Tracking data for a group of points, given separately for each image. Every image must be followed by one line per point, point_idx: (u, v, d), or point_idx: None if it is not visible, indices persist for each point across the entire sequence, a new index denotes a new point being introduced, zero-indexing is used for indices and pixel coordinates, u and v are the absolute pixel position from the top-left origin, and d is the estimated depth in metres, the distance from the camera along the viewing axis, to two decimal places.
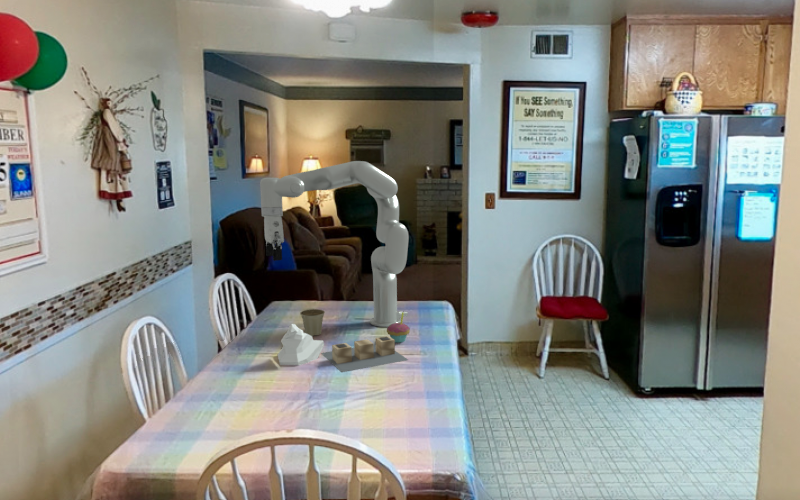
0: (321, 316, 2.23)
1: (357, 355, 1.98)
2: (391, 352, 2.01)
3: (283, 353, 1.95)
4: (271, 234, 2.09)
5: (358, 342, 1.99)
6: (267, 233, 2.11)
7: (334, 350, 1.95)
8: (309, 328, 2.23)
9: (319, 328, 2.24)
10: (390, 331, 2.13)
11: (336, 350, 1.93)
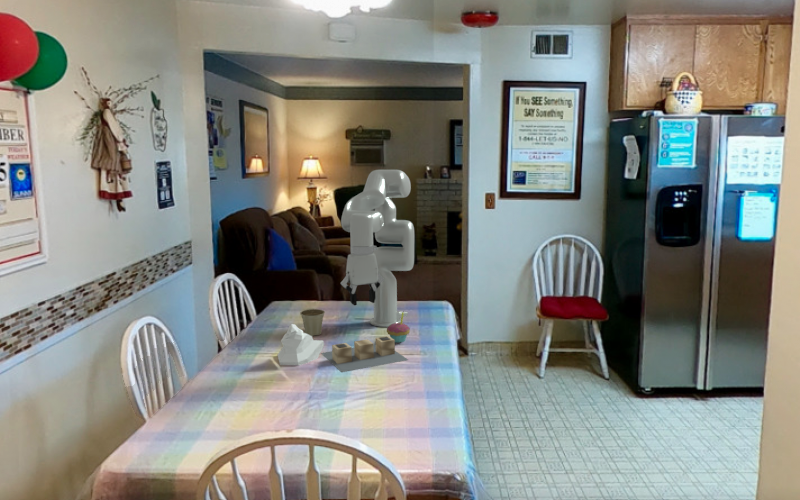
0: (321, 316, 2.23)
1: (357, 355, 1.98)
2: (391, 352, 2.01)
3: (283, 353, 1.95)
4: (377, 272, 1.95)
5: (358, 342, 1.99)
6: (369, 273, 1.93)
7: (334, 350, 1.95)
8: (309, 328, 2.23)
9: (319, 328, 2.24)
10: (390, 331, 2.13)
11: (336, 350, 1.93)
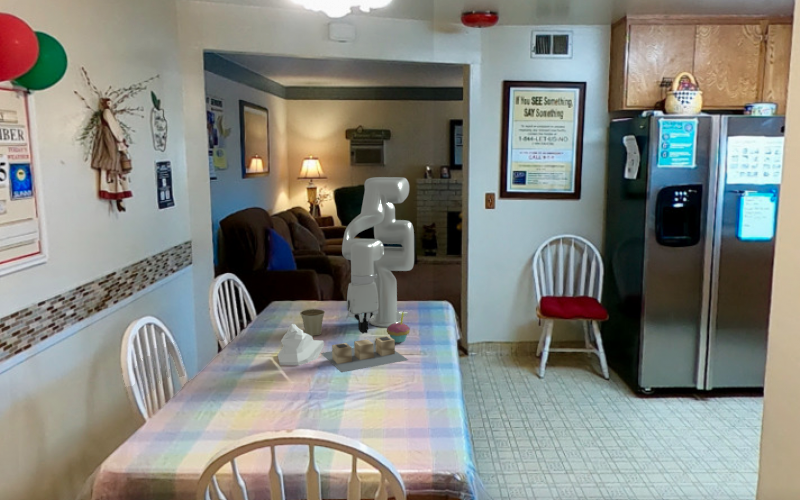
0: (321, 316, 2.23)
1: (357, 355, 1.98)
2: (391, 352, 2.01)
3: (283, 353, 1.95)
4: (377, 300, 1.97)
5: (358, 342, 1.99)
6: (370, 302, 1.95)
7: (334, 350, 1.95)
8: (309, 328, 2.23)
9: (319, 328, 2.24)
10: (390, 331, 2.13)
11: (336, 350, 1.93)
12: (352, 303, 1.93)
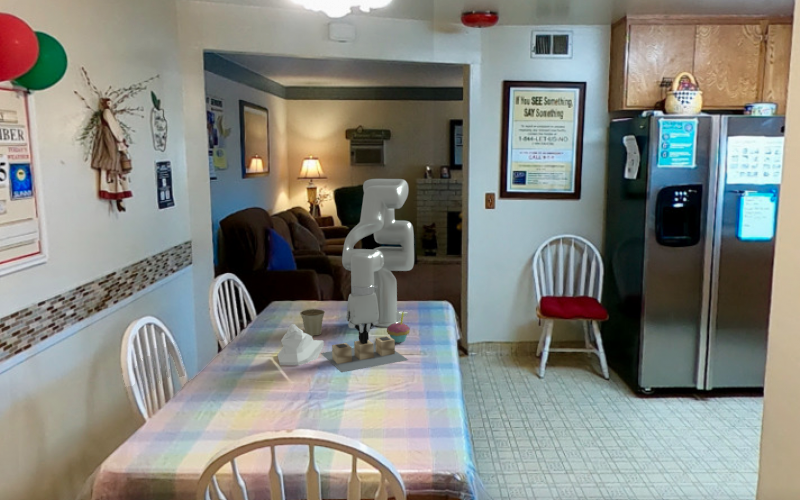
0: (321, 316, 2.23)
1: (357, 355, 1.98)
2: (391, 352, 2.01)
3: (283, 353, 1.95)
4: (378, 311, 1.97)
5: (358, 342, 1.99)
6: (370, 312, 1.95)
7: (334, 350, 1.95)
8: (309, 328, 2.23)
9: (319, 328, 2.24)
10: (390, 331, 2.13)
11: (336, 350, 1.93)
12: (352, 314, 1.93)
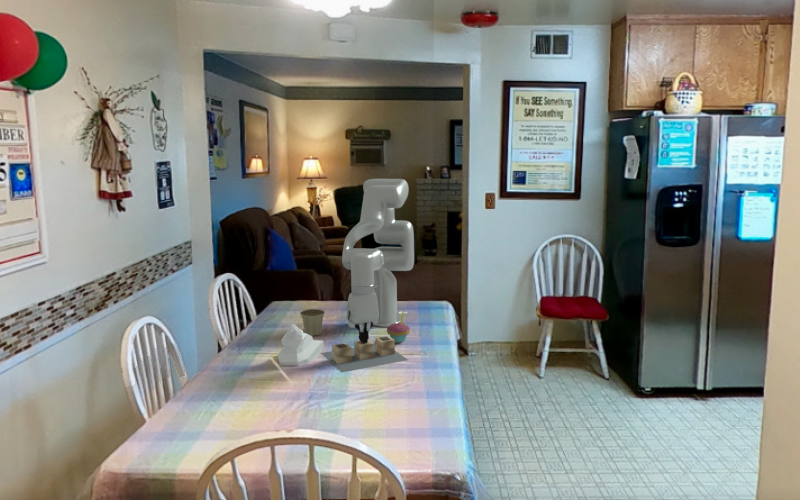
0: (321, 316, 2.23)
1: (357, 355, 1.98)
2: (391, 352, 2.01)
3: (283, 353, 1.95)
4: (378, 310, 1.98)
5: (358, 342, 1.99)
6: (370, 312, 1.96)
7: (334, 350, 1.95)
8: (309, 328, 2.23)
9: (319, 328, 2.24)
10: (390, 331, 2.13)
11: (336, 350, 1.93)
12: (352, 313, 1.93)
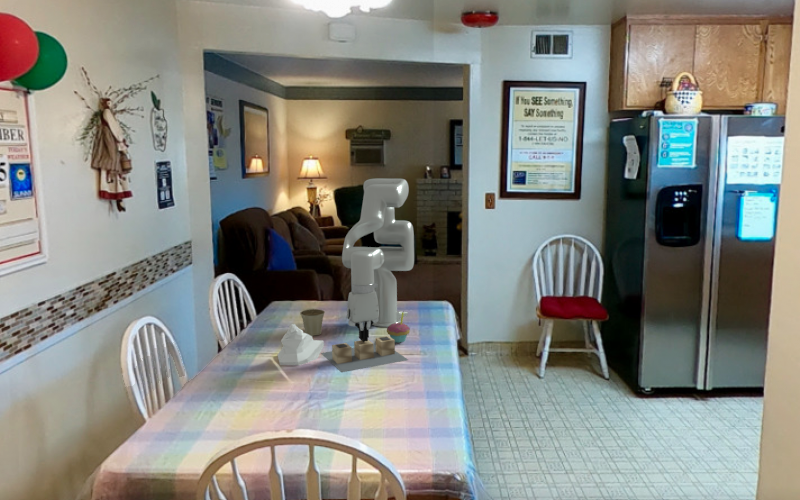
0: (321, 316, 2.23)
1: (357, 355, 1.98)
2: (391, 352, 2.01)
3: (283, 353, 1.95)
4: (378, 309, 1.98)
5: (358, 342, 1.99)
6: (370, 310, 1.96)
7: (334, 350, 1.95)
8: (309, 328, 2.23)
9: (319, 328, 2.24)
10: (390, 331, 2.13)
11: (336, 350, 1.93)
12: (352, 312, 1.93)
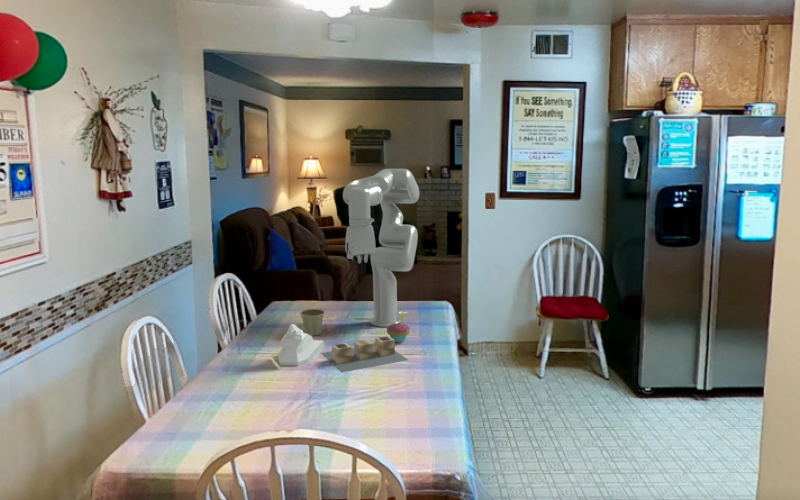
0: (321, 316, 2.23)
1: (357, 355, 1.98)
2: (391, 352, 2.01)
3: (283, 353, 1.95)
4: (374, 243, 2.08)
5: (358, 342, 1.99)
6: (367, 244, 2.06)
7: (334, 350, 1.95)
8: (309, 328, 2.23)
9: (319, 328, 2.24)
10: (390, 331, 2.13)
11: (336, 350, 1.93)
12: (351, 245, 2.04)
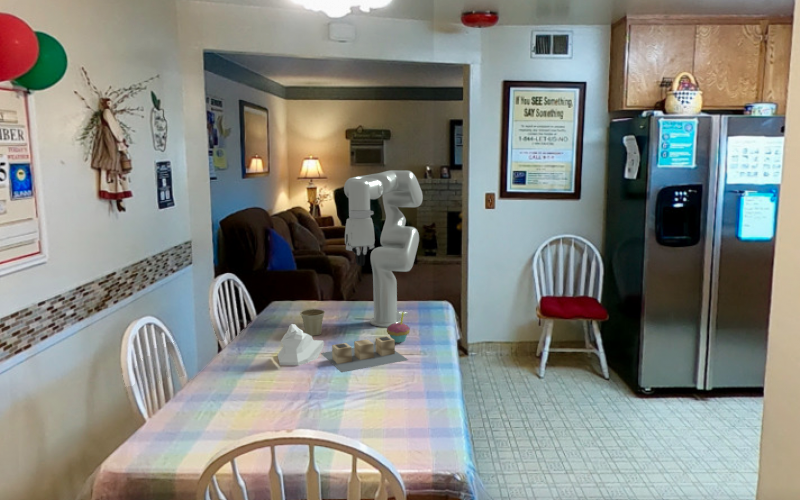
0: (321, 316, 2.23)
1: (357, 355, 1.98)
2: (391, 352, 2.01)
3: (283, 353, 1.95)
4: None
5: (358, 342, 1.99)
6: (366, 236, 2.08)
7: (334, 350, 1.95)
8: (309, 328, 2.23)
9: (319, 328, 2.24)
10: (390, 331, 2.13)
11: (336, 350, 1.93)
12: (350, 236, 2.06)
